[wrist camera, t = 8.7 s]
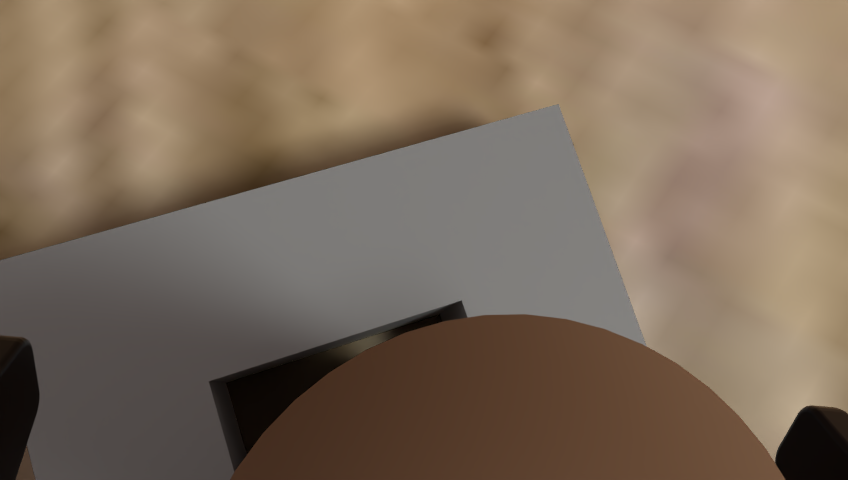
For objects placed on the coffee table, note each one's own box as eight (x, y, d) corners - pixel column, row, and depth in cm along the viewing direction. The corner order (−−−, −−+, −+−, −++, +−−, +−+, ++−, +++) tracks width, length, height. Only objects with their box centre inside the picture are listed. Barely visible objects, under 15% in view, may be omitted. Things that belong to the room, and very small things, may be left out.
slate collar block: (179, 837, 16) (149, 934, 14) (36, 285, 18) (-18, 265, 15) (692, 622, 19) (762, 664, 16) (523, 145, 20) (558, 104, 17)
